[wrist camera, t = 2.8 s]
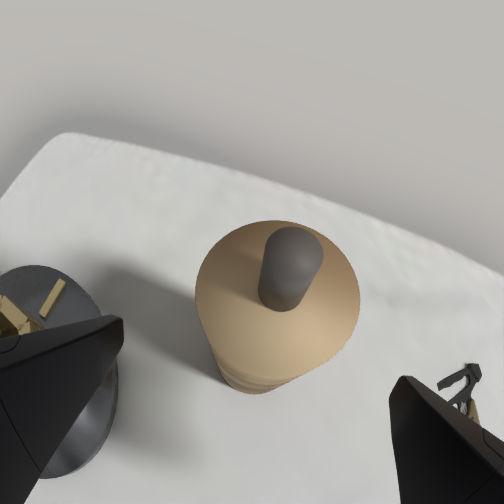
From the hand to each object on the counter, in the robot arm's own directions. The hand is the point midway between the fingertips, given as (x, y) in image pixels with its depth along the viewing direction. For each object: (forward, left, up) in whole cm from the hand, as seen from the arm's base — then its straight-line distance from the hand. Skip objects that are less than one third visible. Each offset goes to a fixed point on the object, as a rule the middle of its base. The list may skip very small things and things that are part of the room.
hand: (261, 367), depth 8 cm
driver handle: (+2, 0, -9) cm, 9 cm away
